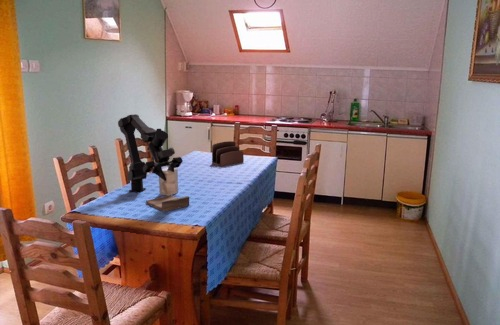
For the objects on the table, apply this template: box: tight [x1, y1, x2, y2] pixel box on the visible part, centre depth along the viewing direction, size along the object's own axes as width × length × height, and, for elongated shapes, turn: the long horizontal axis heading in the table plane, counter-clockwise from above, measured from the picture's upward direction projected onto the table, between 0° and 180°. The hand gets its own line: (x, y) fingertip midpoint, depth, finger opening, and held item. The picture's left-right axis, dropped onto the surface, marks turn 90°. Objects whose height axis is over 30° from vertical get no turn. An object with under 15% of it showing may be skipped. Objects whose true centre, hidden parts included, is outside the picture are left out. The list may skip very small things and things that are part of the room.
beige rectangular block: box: [162, 170, 176, 195], centre depth 199 cm, size 5×4×10 cm
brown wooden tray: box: [145, 195, 190, 213], centre depth 204 cm, size 16×14×4 cm
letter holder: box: [211, 140, 244, 167], centre depth 288 cm, size 10×20×14 cm, turn 131°
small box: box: [158, 166, 179, 196], centre depth 220 cm, size 8×6×13 cm
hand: (169, 179), depth 197 cm, fingers closed on beige rectangular block, 4 cm apart
